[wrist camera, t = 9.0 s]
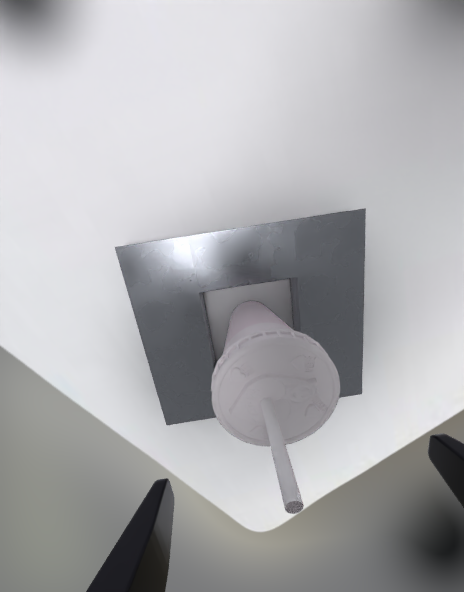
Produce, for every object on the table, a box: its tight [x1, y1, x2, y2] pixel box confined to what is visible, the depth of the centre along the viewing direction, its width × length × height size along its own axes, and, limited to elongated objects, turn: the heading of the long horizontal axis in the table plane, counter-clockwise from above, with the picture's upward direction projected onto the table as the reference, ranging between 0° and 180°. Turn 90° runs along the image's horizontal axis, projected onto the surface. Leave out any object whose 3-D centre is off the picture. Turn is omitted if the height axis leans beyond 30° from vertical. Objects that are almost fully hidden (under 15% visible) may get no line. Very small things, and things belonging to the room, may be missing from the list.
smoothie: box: [211, 301, 340, 514], centre depth 13 cm, size 6×6×14 cm
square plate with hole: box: [115, 208, 366, 425], centre depth 19 cm, size 18×16×2 cm
